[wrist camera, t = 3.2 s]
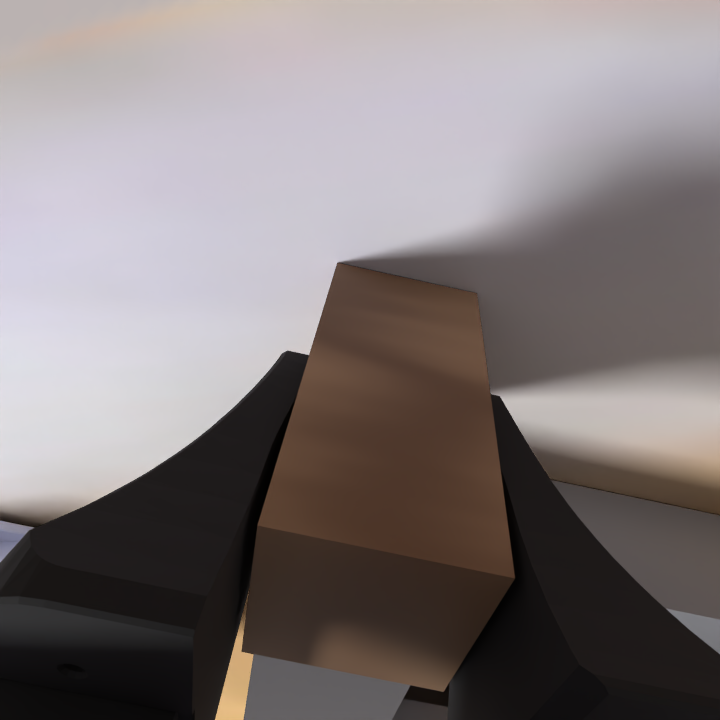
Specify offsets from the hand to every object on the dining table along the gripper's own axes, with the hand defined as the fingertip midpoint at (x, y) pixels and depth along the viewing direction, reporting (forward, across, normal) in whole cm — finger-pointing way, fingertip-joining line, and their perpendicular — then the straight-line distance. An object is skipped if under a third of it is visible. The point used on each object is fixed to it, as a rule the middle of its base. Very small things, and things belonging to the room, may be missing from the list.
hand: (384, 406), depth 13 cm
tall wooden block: (+3, 0, 0) cm, 3 cm away
